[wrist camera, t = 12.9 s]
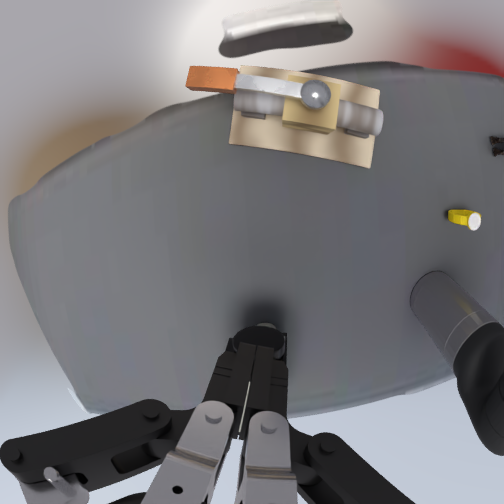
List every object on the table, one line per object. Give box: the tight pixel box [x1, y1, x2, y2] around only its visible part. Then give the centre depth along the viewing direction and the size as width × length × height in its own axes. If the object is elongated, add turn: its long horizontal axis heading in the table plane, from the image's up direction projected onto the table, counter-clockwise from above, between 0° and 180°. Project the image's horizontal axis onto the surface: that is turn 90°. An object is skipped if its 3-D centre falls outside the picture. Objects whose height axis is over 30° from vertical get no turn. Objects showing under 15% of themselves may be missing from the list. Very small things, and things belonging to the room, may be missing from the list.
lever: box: [186, 66, 331, 110], centre depth 24 cm, size 3×14×2 cm, turn 80°
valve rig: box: [229, 65, 383, 168], centre depth 30 cm, size 20×12×11 cm, turn 82°
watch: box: [448, 210, 481, 230], centre depth 34 cm, size 6×3×6 cm, turn 97°
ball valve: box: [226, 323, 287, 435], centre depth 39 cm, size 18×8×18 cm, turn 3°
